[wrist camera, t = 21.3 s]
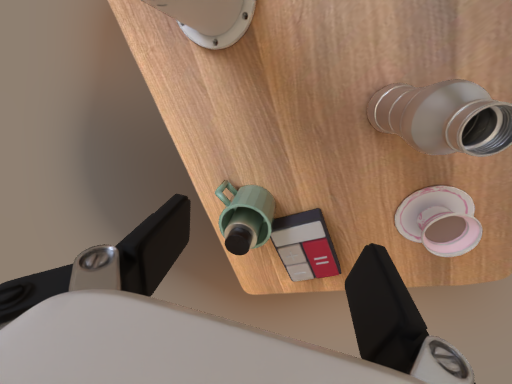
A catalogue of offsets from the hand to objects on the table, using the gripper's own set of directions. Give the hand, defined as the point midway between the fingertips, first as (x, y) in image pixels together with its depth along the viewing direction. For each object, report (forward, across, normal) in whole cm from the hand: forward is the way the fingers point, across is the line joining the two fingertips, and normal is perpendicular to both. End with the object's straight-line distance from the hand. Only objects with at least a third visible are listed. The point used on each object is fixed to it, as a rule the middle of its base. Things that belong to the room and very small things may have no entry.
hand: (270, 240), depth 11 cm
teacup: (+28, -28, +9) cm, 41 cm away
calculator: (+28, -9, +22) cm, 37 cm away
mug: (+29, +5, +15) cm, 33 cm away
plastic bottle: (+29, -13, -7) cm, 32 cm away
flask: (+28, +4, +16) cm, 32 cm away
